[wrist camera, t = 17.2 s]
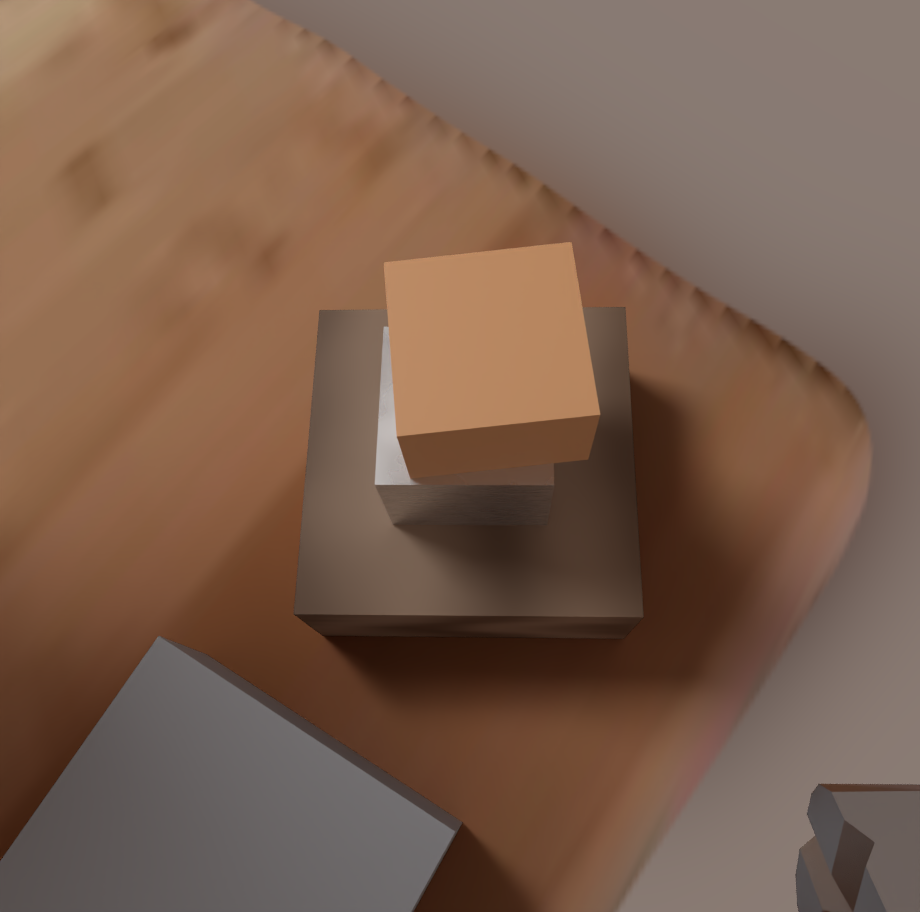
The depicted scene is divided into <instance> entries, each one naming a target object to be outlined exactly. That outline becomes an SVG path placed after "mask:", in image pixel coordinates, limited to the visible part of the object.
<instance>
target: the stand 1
mask: <svg viewBox="0 0 920 912" xmlns="http://www.w3.org/2000/svg"><path fill="white" fill-rule="evenodd" d="M462 823H463V822H461V821H460V820H458V819H457V818H455V817H453V816H452V815H450V814H449V813H447V812H446V811H444V810H443V809H441V808H440V807H438V806H437V805H435V804H434V803H432V802H431V801H429V800H428V799H426V798H425V797H423V796H421V795H420V794H418V793H417V792H415V791H414V790H412V789H411V788H409V787H408V786H406V785H405V784H403V783H402V782H400V781H399V780H397V779H396V778H394V777H393V776H391V775H389V774H388V773H386V772H385V771H383V770H382V769H380V768H379V767H377V766H376V765H374V764H373V763H371V762H370V761H368V760H367V759H365V758H364V757H362V756H361V755H359V754H357V753H356V752H354V751H353V750H351V749H350V748H348V747H347V746H345V745H344V744H342V743H341V742H339V741H338V740H336V739H335V738H333V737H332V736H330V735H329V734H327V733H325V732H324V731H322V730H321V729H319V728H318V727H316V726H315V725H313V724H312V723H310V722H309V721H307V720H306V719H304V718H303V717H301V716H300V715H298V714H297V713H295V712H293V711H292V710H290V709H289V708H287V707H286V706H284V705H283V704H281V703H280V702H278V701H277V700H275V699H274V698H272V697H271V696H269V695H268V694H266V693H265V692H263V691H261V690H260V689H258V688H257V687H255V686H254V685H252V684H251V683H249V682H248V681H246V680H245V679H243V678H242V677H240V676H239V675H237V674H236V673H234V672H233V671H231V670H229V669H228V668H226V667H225V666H223V665H222V664H220V663H219V662H217V661H216V660H214V659H213V658H211V657H210V656H208V655H207V654H204V653H202V652H199V651H196V650H194V649H191V648H189V647H186V646H184V645H181V644H178V643H176V642H173V641H171V640H168V639H166V638H163V637H161V636H158V637H157V639H156V640H155V642H154V643H153V645H152V646H151V647H150V649H149V650H148V652H147V653H146V655H145V656H144V657H143V659H142V660H141V662H140V663H139V664H138V666H137V667H136V669H135V670H134V672H133V673H132V674H131V676H130V677H129V679H128V680H127V682H126V683H125V684H124V686H123V687H122V689H121V690H120V691H119V693H118V694H117V696H116V697H115V699H114V700H113V701H112V703H111V704H110V706H109V707H108V709H107V710H106V711H105V713H104V714H103V716H102V717H101V719H100V720H99V721H98V723H97V724H96V726H95V727H94V728H93V730H92V731H91V733H90V734H89V736H88V737H87V738H86V740H85V741H84V743H83V744H82V746H81V747H80V748H79V750H78V751H77V753H76V754H75V756H74V757H73V758H72V760H71V761H70V763H69V764H68V765H67V767H66V768H65V770H64V771H63V773H62V774H61V775H60V777H59V778H58V780H57V781H56V783H55V784H54V785H53V787H52V788H51V790H50V791H49V793H48V794H47V795H46V797H45V798H44V800H43V801H42V802H41V804H40V805H39V807H38V808H37V810H36V811H35V812H34V814H33V815H32V817H31V818H30V820H29V821H28V822H27V824H26V825H25V827H24V828H23V829H22V831H21V832H20V834H19V835H18V837H17V838H16V839H15V841H14V842H13V844H12V845H11V847H10V848H9V849H8V851H7V852H6V854H5V855H4V857H3V858H2V859H1V861H0V912H414V910H415V908H416V906H417V904H418V903H419V901H420V899H421V897H422V895H423V894H424V892H425V890H426V888H427V886H428V885H429V883H430V881H431V879H432V877H433V875H434V874H435V872H436V870H437V868H438V866H439V865H440V863H441V861H442V859H443V857H444V855H445V854H446V852H447V850H448V848H449V846H450V845H451V843H452V841H453V839H454V837H455V835H456V834H457V832H458V830H459V828H460V826H461V825H462Z"/></svg>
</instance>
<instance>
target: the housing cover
mask: <svg viewBox="0 0 920 912" xmlns="http://www.w3.org/2000/svg"><path fill="white" fill-rule="evenodd" d="M384 273H385V286H386V300H387V313H388V327H389V340H390V354H391V367H392V381H393V394H394V408H395V421H396V434H397V439H398V442H399V445H400V448H401V452H402V455H403V458H404V461H405V464H406V467H407V470H408V473H409V476H410V478H420V477H429V476H439V475H448V474H457V473H467V472H476V471H486V470H495V469H504V468H514V467H523V466H533V465H542V464H551V463H561V462H570V461H580V460H588V458H589V455H590V451H591V447H592V443H593V440H594V436H595V432H596V429H597V425H598V421H599V418H600V410H599V404H598V398H597V392H596V386H595V380H594V374H593V368H592V362H591V356H590V350H589V344H588V338H587V332H586V326H585V320H584V314H583V308H582V303H581V297H580V291H579V285H578V279H577V273H576V267H575V261H574V255H573V249H572V243H571V242H567V243H558V244H548V245H539V246H530V247H521V248H512V249H503V250H494V251H485V252H475V253H466V254H457V255H448V256H439V257H430V258H421V259H412V260H402V261H393V262H384Z"/></svg>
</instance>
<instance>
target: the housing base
mask: <svg viewBox="0 0 920 912" xmlns="http://www.w3.org/2000/svg"><path fill="white" fill-rule="evenodd" d="M375 487H376V489H377V491H378V493H379V495H380V498H381V500H382V502H383V504H384V506H385V509H386V511H387V513H388V515H389V517H390V520H391V522H392V524H393V525H547V523H548V517H549V512H550V506H551V500H552V495H553V489H554V463H551V464H542V465H533V466H523V467H514V468H504V469H495V470H486V471H476V472H467V473H457V474H448V475H439V476H429V477H420V478H410V476H409V473H408V470H407V467H406V464H405V461H404V458H403V455H402V452H401V448H400V445H399V442H398V439H397V434H396V421H395V408H394V394H393V381H392V367H391V354H390V340H389V327H384V329H383V347H382V364H381V382H380V400H379V417H378V435H377V452H376V470H375Z"/></svg>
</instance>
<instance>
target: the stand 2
mask: <svg viewBox="0 0 920 912" xmlns="http://www.w3.org/2000/svg"><path fill="white" fill-rule="evenodd" d="M583 314H584V320H585V326H586V332H587V338H588V344H589V350H590V356H591V362H592V368H593V374H594V380H595V386H596V392H597V398H598V404H599V410H600V418H599V421H598V425H597V429H596V432H595V436H594V440H593V443H592V447H591V451H590V455H589V458H588V460H580V461H570V462H561V463H554V489H553V495H552V500H551V506H550V512H549V517H548V523H547V525H393V524H392V522H391V520H390V517H389V515H388V513H387V511H386V509H385V506H384V504H383V502H382V500H381V498H380V495H379V493H378V491H377V489H376V487H375V470H376V452H377V435H378V417H379V400H380V382H381V364H382V347H383V329H384V327H388V313H387V310H320V311H319V323H318V335H317V346H316V358H315V370H314V382H313V393H312V405H311V417H310V429H309V440H308V452H307V464H306V476H305V487H304V499H303V511H302V523H301V534H300V546H299V558H298V570H297V581H296V593H295V605H294V615H295V616H297V617H298V618H300V619H301V620H302V621H304V622H305V623H306V624H308V625H309V626H310V627H312V628H313V629H314V630H316V631H317V632H318V633H320V634H321V635H322V636H402V637H505V638H607V639H624V638H625V637H626V636H627V635H628V634H629V633H630V632H631V630H632V629H633V628H634V627H635V626H636V625H637V624H638V623H639V622H640V621H641V619H642V618H643V617H644V615H643V598H642V581H641V564H640V547H639V530H638V513H637V496H636V479H635V462H634V445H633V428H632V411H631V394H630V377H629V360H628V343H627V326H626V309H625V307H588V308H583Z"/></svg>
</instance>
